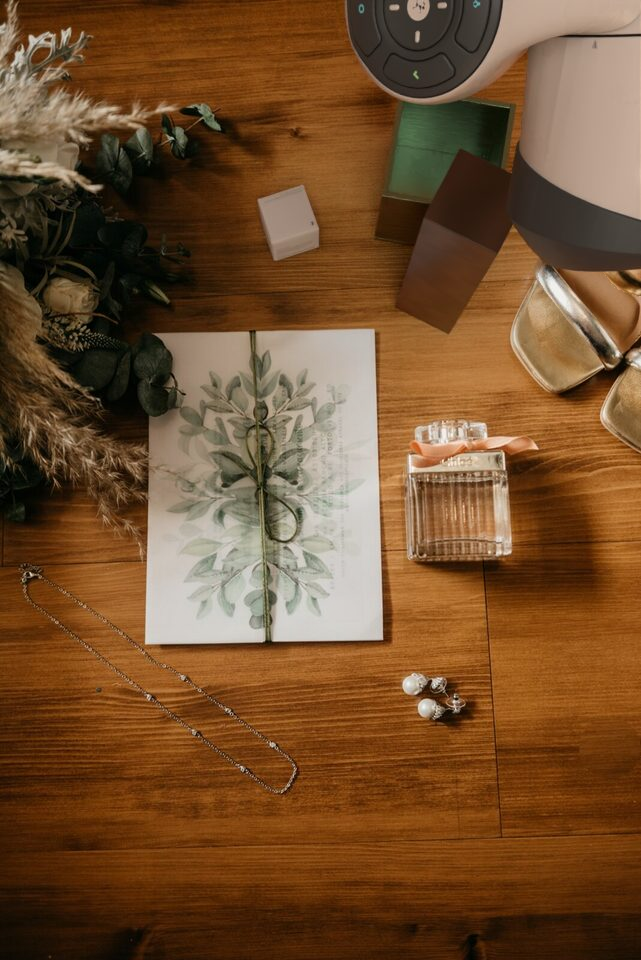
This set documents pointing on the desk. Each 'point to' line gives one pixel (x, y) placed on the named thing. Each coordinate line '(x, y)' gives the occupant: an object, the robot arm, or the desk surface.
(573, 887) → the desk surface
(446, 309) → the plinth
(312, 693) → the desk surface
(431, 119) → the bin
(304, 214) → the small box
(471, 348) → the desk surface
